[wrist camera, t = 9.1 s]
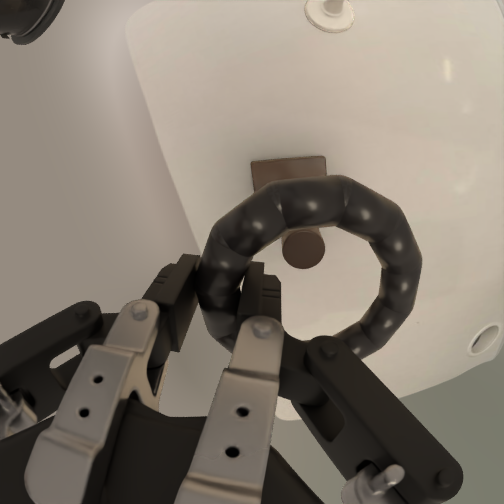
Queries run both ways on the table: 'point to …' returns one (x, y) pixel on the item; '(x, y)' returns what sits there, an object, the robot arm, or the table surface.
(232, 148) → the table surface
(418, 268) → the ring
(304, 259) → the peg stand
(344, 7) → the chess piece
